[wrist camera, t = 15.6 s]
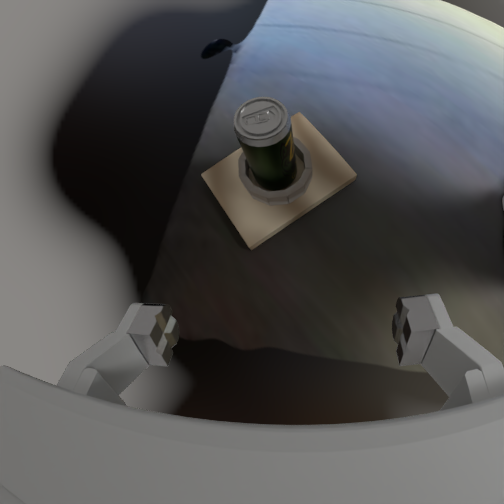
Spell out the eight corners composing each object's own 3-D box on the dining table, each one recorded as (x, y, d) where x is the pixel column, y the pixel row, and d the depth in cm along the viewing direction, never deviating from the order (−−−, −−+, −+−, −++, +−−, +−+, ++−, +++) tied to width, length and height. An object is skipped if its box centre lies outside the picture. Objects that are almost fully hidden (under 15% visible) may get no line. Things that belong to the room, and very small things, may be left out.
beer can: (258, 197, 36) (235, 147, 25) (250, 159, 38) (227, 103, 26) (301, 187, 36) (297, 133, 24) (291, 150, 37) (282, 89, 25)
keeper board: (300, 118, 39) (298, 100, 35) (355, 179, 36) (359, 165, 32) (204, 179, 40) (194, 166, 36) (251, 250, 37) (244, 243, 33)
